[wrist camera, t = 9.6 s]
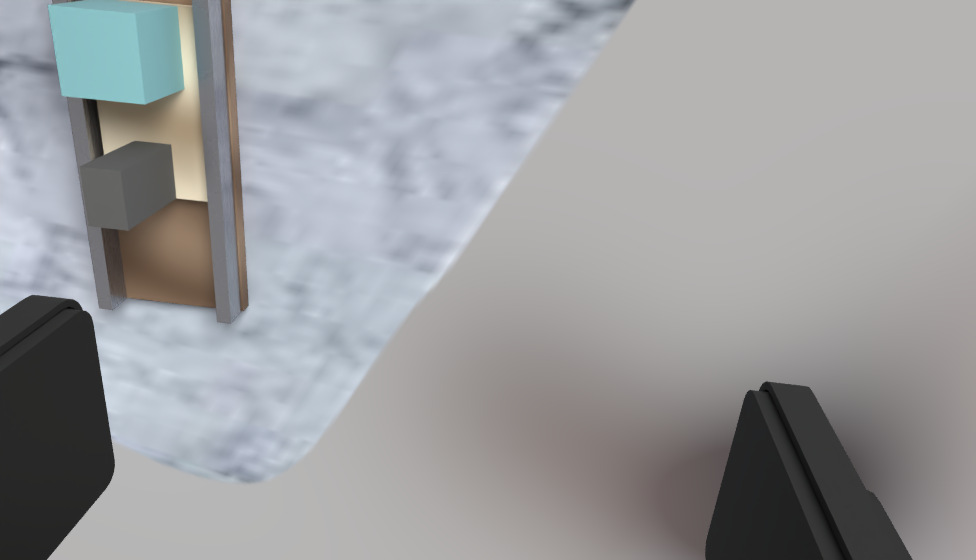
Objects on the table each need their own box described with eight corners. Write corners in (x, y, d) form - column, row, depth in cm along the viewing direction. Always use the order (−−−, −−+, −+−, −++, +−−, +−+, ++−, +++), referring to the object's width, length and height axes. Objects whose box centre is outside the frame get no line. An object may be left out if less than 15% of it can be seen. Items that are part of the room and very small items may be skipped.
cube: (98, -2, 37) (47, 5, 33) (177, 6, 37) (135, 13, 33) (108, 81, 39) (61, 96, 35) (184, 89, 38) (145, 104, 35)
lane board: (75, -29, 38) (46, -27, 36) (229, -15, 38) (209, -12, 36) (119, 290, 46) (97, 307, 43) (248, 305, 45) (232, 323, 43)
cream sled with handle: (91, -5, 38) (15, 5, 32) (200, 6, 37) (141, 17, 32) (116, 186, 42) (52, 222, 37) (214, 197, 42) (164, 234, 36)
